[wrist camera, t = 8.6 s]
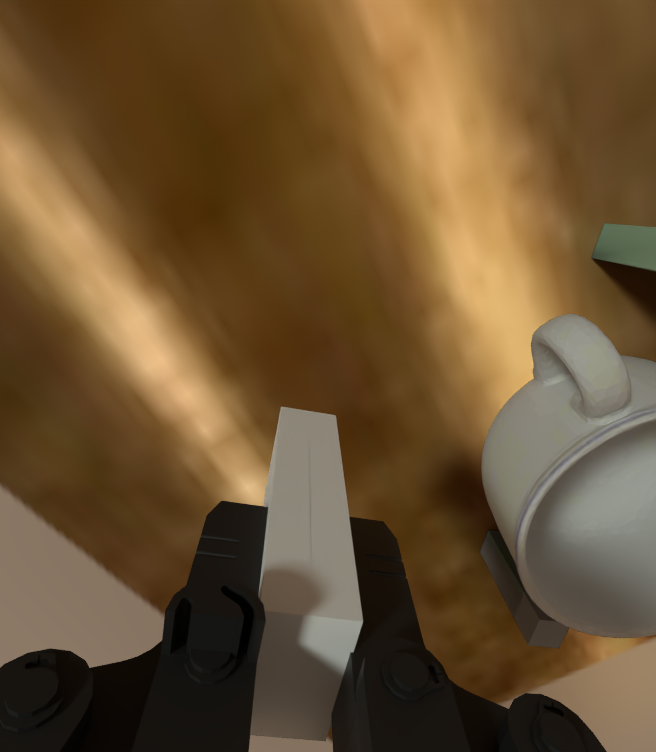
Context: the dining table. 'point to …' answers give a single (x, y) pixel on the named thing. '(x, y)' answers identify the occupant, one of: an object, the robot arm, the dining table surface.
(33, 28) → the dining table surface
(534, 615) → the tray
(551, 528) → the teacup
